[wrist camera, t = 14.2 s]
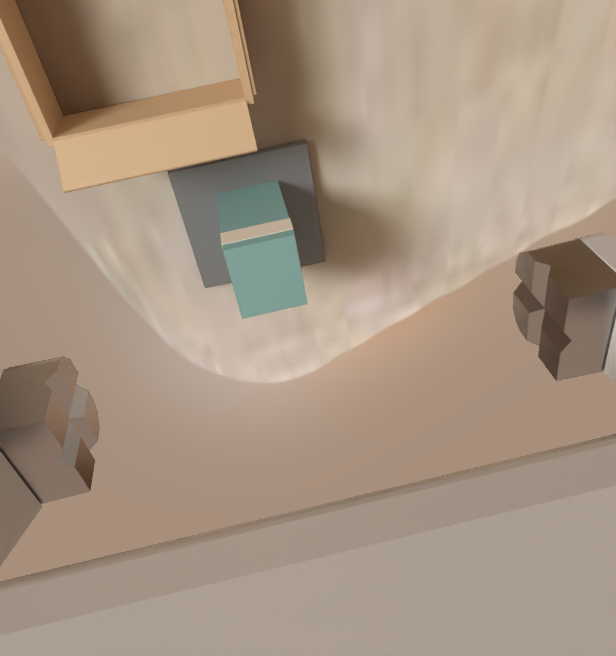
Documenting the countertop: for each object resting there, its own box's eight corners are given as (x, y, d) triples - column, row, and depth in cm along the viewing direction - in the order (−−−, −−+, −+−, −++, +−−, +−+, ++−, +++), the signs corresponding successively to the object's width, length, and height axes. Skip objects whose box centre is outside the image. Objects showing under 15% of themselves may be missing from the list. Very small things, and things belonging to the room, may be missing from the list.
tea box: (278, 179, 47) (294, 234, 40) (290, 244, 51) (308, 304, 44) (215, 193, 47) (221, 250, 40) (233, 257, 51) (241, 319, 44)
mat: (305, 139, 47) (306, 143, 46) (323, 256, 54) (325, 261, 53) (168, 169, 46) (168, 173, 46) (204, 283, 53) (205, 288, 53)
